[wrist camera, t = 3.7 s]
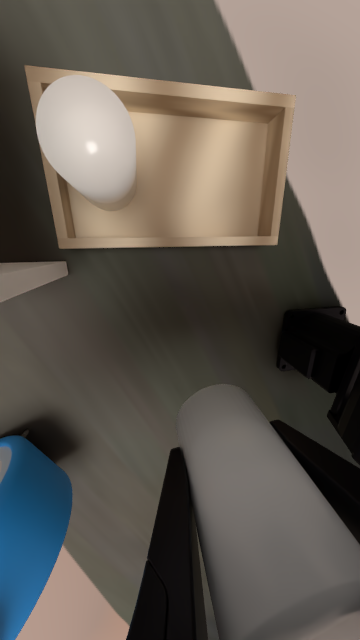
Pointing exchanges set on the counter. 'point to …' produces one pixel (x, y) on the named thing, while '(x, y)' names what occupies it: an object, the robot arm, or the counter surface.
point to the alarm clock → (28, 527)
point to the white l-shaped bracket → (28, 276)
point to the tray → (183, 167)
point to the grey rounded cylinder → (264, 527)
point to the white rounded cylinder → (89, 140)
